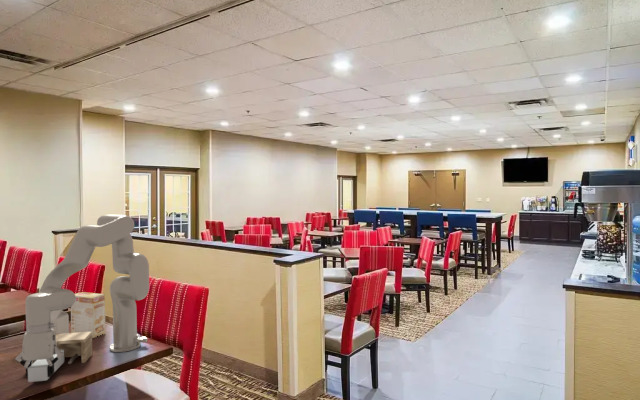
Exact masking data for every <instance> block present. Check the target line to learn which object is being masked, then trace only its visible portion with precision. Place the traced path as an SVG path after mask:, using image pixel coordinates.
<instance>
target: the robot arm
mask: <svg viewBox="0 0 640 400" xmlns="http://www.w3.org/2000/svg"><path fill="white" fill-rule="evenodd" d="M134 229H135V221H134V219H133V218H132V217H131V216H129V215H125V214H104V215H101V216H99V217H98V218H97V221H96V225H92V224H89V225H86V224H85V225H83V226H80V228H78V230H77V232H76V233H75V235H74V238H73V240H72V242H71V244H70V245H69V248H68V250H67V252H66V254H65V256H64V258H63V260H62V261H60V263H59V264H57V265H56V266H55V267H54V268H53V269H52V270H51V271H50V272H49V273H48V274H47V276H46V277H45V278H44V281H43V283H42V285H41V287H40V289H39V292H36V293H32V294H30V295H27V296H26V298H25V299H24V300H25V302H24V304H25V329H26V331H25V332H24V335H23V340H22V347H21V352H20V353H18V355H17V356H16V357H15V358H14V359H15V361H17V362H19V363H20V365H22V366H23V368H24V369H25V377H26V378H27V380H28V368H29V367H30V366H31V365H32V364H31V363H32V361H33V360H43V359H46V360H47V362H48V365H49V366H48V377H49V378H50V377H52V375H53V374H54V373H55V372H54V363H55V362H56V361H57V360H58V359H59V358H60V357H61V356H62V355H63V354H64V353H63V352H62V351H60V350H59V349H58V348H57V340H56V335H55V331H54V329H51V328H53V327H55V324H53V323H52V321H51V311H56V310H63V311H65V310H66V309H69V308H71V306H72V305H73V304H74V302H75V300H76V296H75V294H76V293H74V292H73V291H72V290H70V289H67V288H63V285H64V283H65V282H66V281H67V280H68V279H69V278H70V277H71V276H72V275H74V274H75V273H78V272H79V271H81V270H83V269H85V268H86V267H88V265H89V262H90V260H91V258H92V256H93V253H94V251H95V249H96V248H103V247H107V246H110V245H111V248H112V249H111V251H112V255H111V257H112V269H113V271H114V272H115V273H116V274H121V276H117V277H115V278H114V279H113V280H112V281H111V283H110V286H109V293H110V297H111V298H110V299H111V304H112V329H113V330H112V331H113V334H112V335H113V339H112V342H113V343H111V344H110V345H109V351H111V352H114V353H126V352H131V351H134V350H136V349H138V348H139V347H140V346H141V345H142V343H147V342H148V338H147V337H146V336H140V334H139V333H138V329H137V325H138V323H137V322H138V321H137V320H138V319H137V318H138V317H137V314H138V313H137V303H136V301H141V300H143V299H144V300H145V298H146V297H147V296H148V294H149V291H150V267H149V266H150V264H149V261H148V258H147V257H146V256H145V255H144V254H142V253H138V252H135V251H134V241H133V237H132V234H131V233H133V231H134ZM126 275H127V276H126ZM128 275H129V276H128ZM54 354H57V357H56V358H54V357H53V355H54Z"/></svg>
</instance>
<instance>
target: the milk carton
mask: <svg viewBox="0 0 640 400" xmlns="http://www.w3.org/2000/svg"><path fill="white" fill-rule="evenodd" d="M69 315H70V314H68V312H66V311H65V310H56V311H51V321H52V323H53V324H55V327H53V328H51V329H54V331H55V334H64V333H70V322H69V319H70V318H69V317H70V316H69Z"/></svg>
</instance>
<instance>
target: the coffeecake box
mask: <svg viewBox="0 0 640 400" xmlns="http://www.w3.org/2000/svg"><path fill="white" fill-rule="evenodd" d="M74 294H75V296H76V300H75V302H74V304H73V305H72V306H71V307H70V324H71V325H70V326H71V327H70V328H71V329H70V330H71V332H70V333H78V332H92V339H94V338H95V339H96V338H98V337H100V335H101V336H103V335H106V310H105V309H106V308H105V307H106V305H105V304H106V301H105V300H106V299H105V298H106V297H105V294H104V293H96V292H86V291H81V292H78V293H74ZM102 334H103V335H102ZM97 336H98V337H97Z"/></svg>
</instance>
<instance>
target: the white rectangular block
mask: <svg viewBox="0 0 640 400" xmlns="http://www.w3.org/2000/svg"><path fill="white" fill-rule="evenodd" d="M60 351H62V352H63V353H64V350H60ZM53 357H54V358H56V357H57V354H54V355H53ZM64 363H65V357H64V354H63V355H62V356H61V357H60V358H59V359H58V360H57V361H56V362H55V363H54V373H55V372H57V370H58V369H59V368H60V367H61V366H62V365H63V364H64ZM48 366H49V365H48V362H47V360H46V359H43V360H36V361H35V362H34V363H33V364H32V365H31V366H30V367H29V368H28V379H27V382H28V383H32V382H33V383H34V382H43V381H44V382H45V381H48V380H49V379H50V377H48Z"/></svg>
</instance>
